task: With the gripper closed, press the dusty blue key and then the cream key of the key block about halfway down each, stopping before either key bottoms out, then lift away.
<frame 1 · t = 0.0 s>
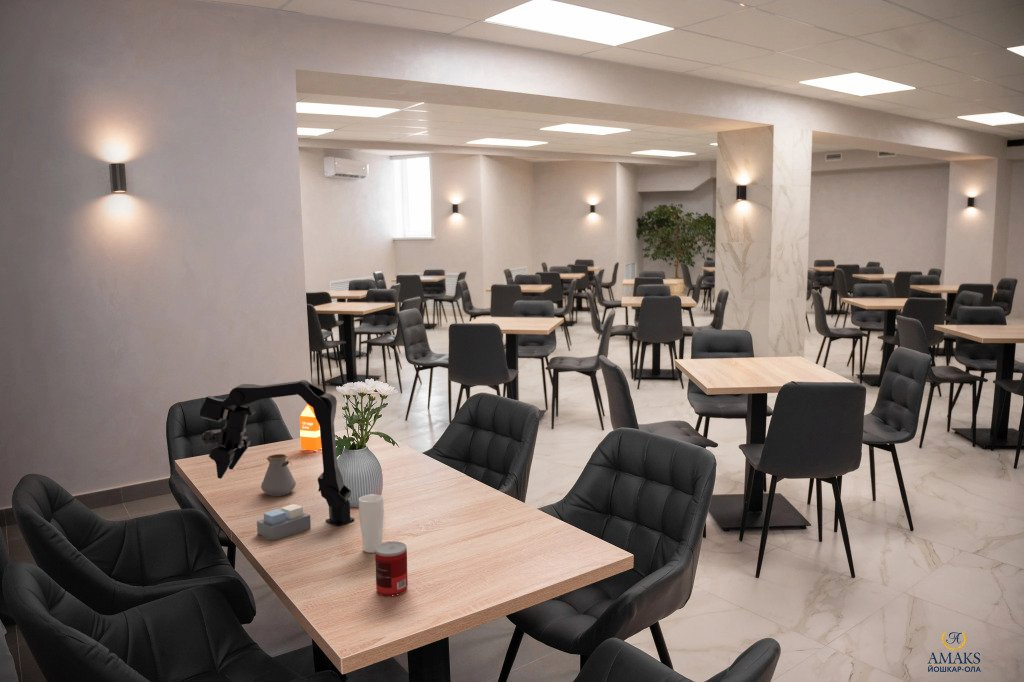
hand: (225, 473, 232), 15 cm above the table, tool pointing down, fingers open, 9 cm apart
key block: (284, 531, 226), on the table
drinking glass: (372, 550, 212), on the table
canned food: (392, 590, 187), on the table
cream key: (292, 513, 228), point 4 cm above the table, slide at 0.0 cm
blue key: (274, 519, 223), point 4 cm above the table, slide at 0.0 cm
coffee pot: (282, 497, 257), on the table
orange juice: (314, 448, 318), on the table
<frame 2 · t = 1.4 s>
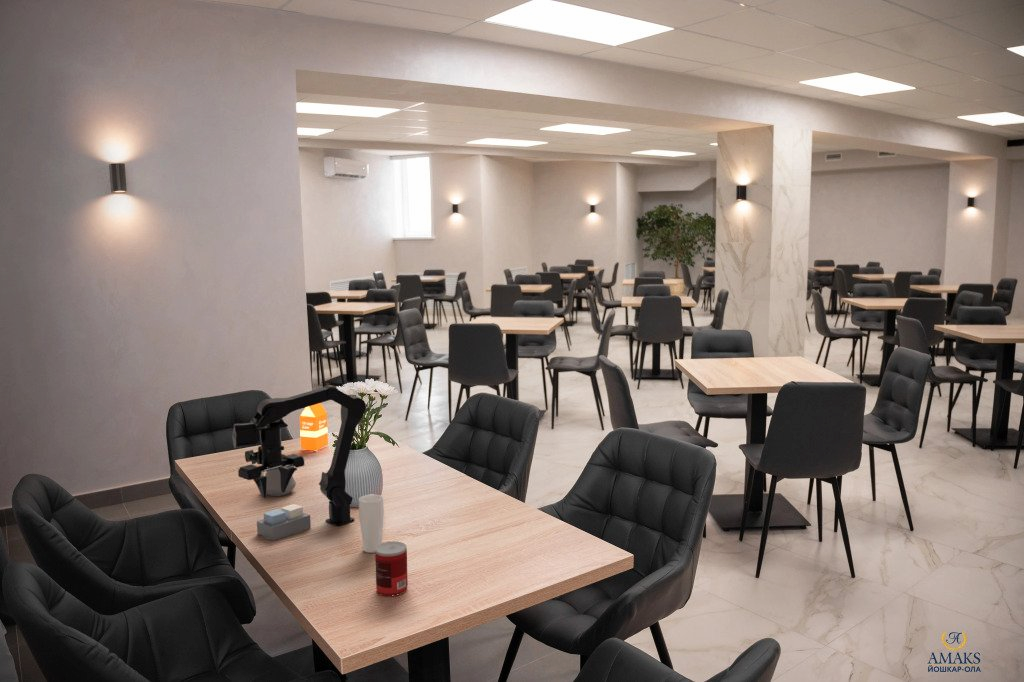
hand: (273, 494, 222), 12 cm above the table, tool pointing down, fingers open, 6 cm apart
nothing on the table moved.
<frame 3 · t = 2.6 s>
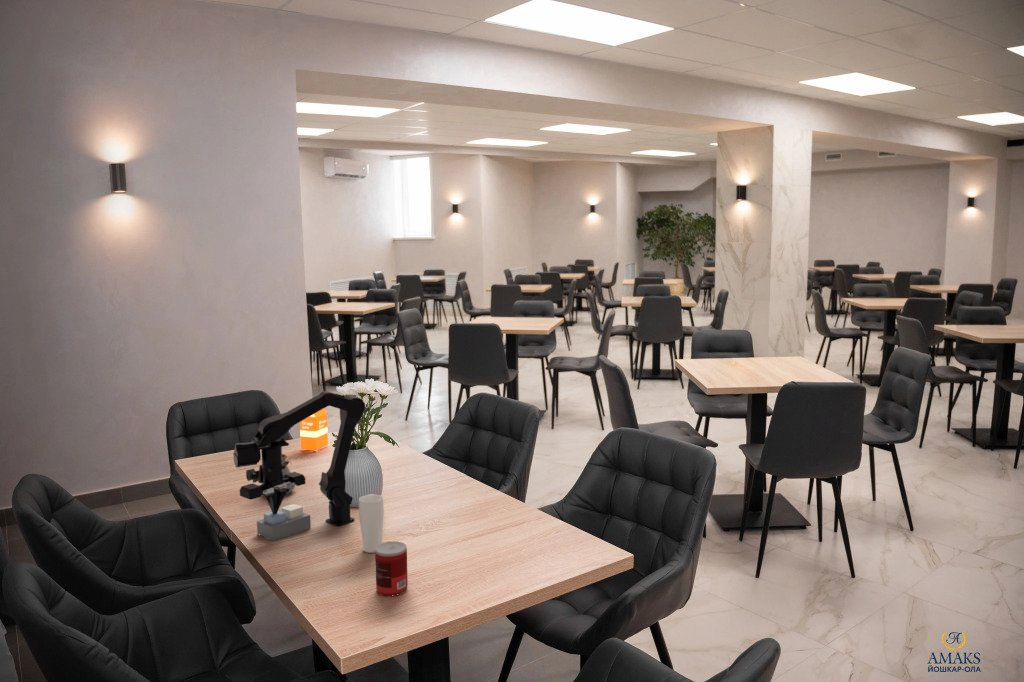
hand: (274, 513, 223), 6 cm above the table, tool pointing down, fingers closed, pressing on blue key
blue key: (274, 519, 223), point 4 cm above the table, slide at 0.1 cm, touching gripper
everything else where it was.
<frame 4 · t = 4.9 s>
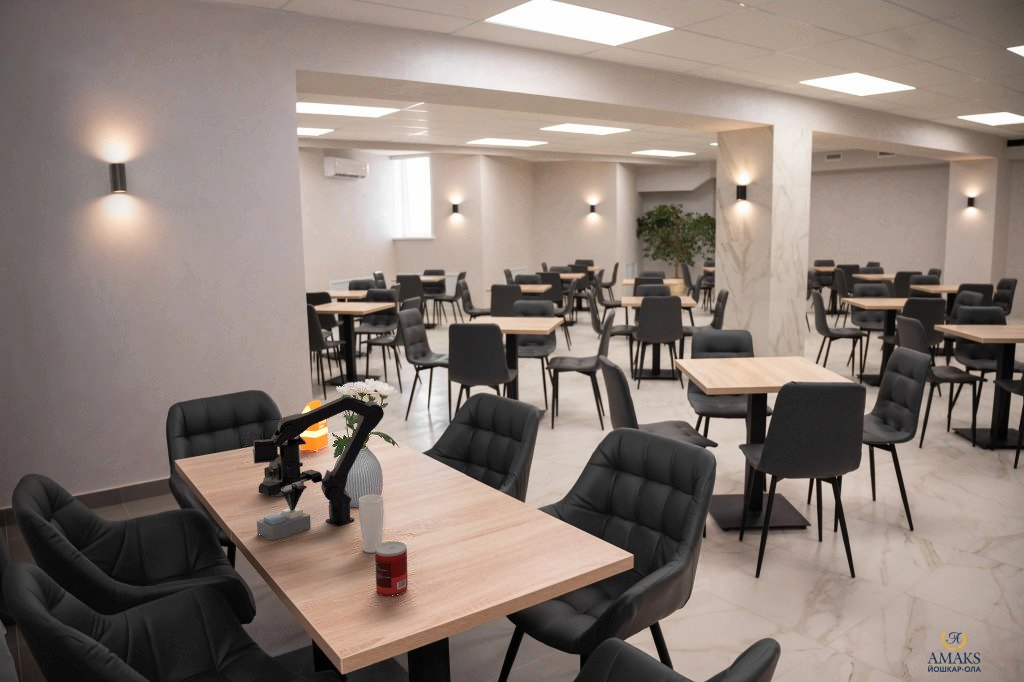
hand: (292, 509, 228), 6 cm above the table, tool pointing down, fingers closed, pressing on cream key
cream key: (292, 516, 228), point 4 cm above the table, slide at 0.8 cm, touching gripper
blue key: (275, 523, 224), point 3 cm above the table, slide at 1.2 cm
everything else where it was.
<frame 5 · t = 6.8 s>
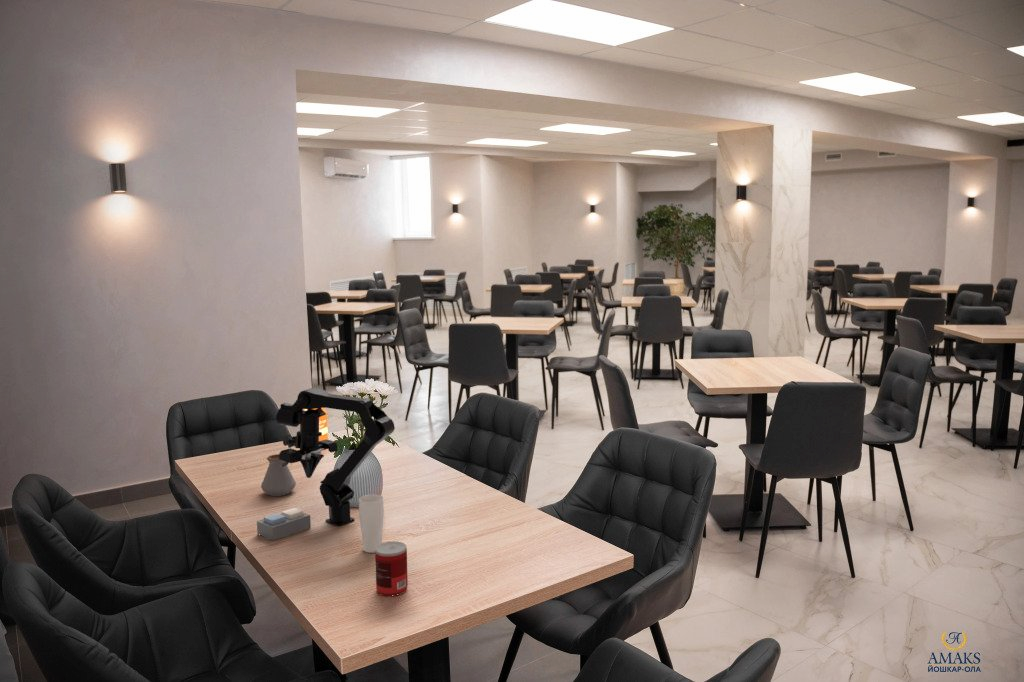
hand: (308, 477, 236), 13 cm above the table, tool pointing down, fingers closed
cream key: (292, 517, 228), point 3 cm above the table, slide at 1.3 cm
everything else where it was.
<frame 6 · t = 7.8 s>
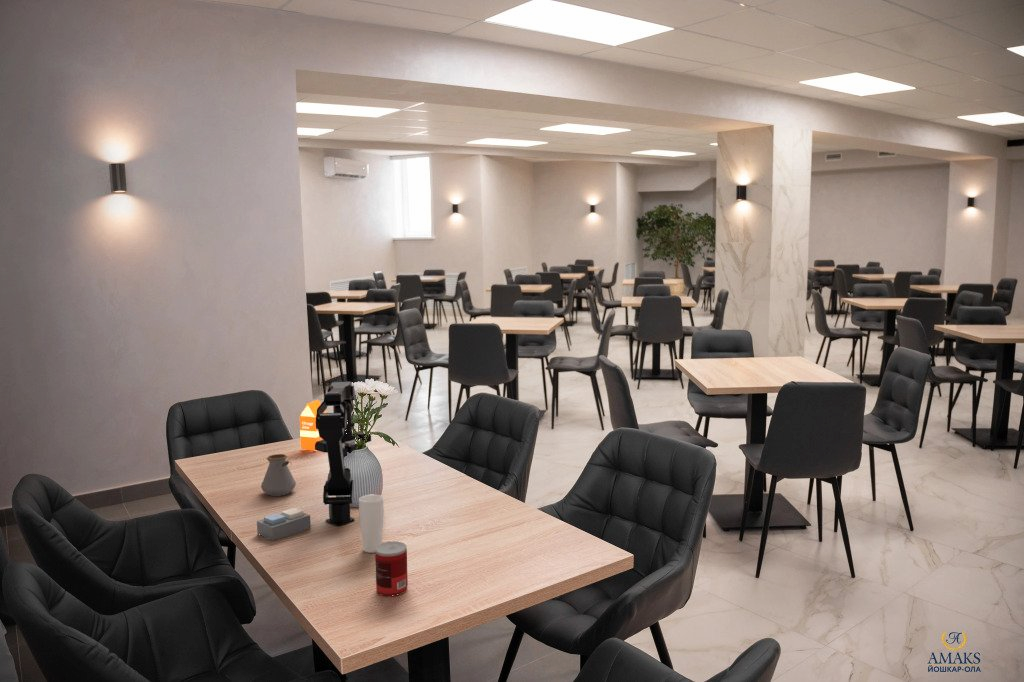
hand: (344, 467, 246), 13 cm above the table, tool pointing down, fingers closed
nothing on the table moved.
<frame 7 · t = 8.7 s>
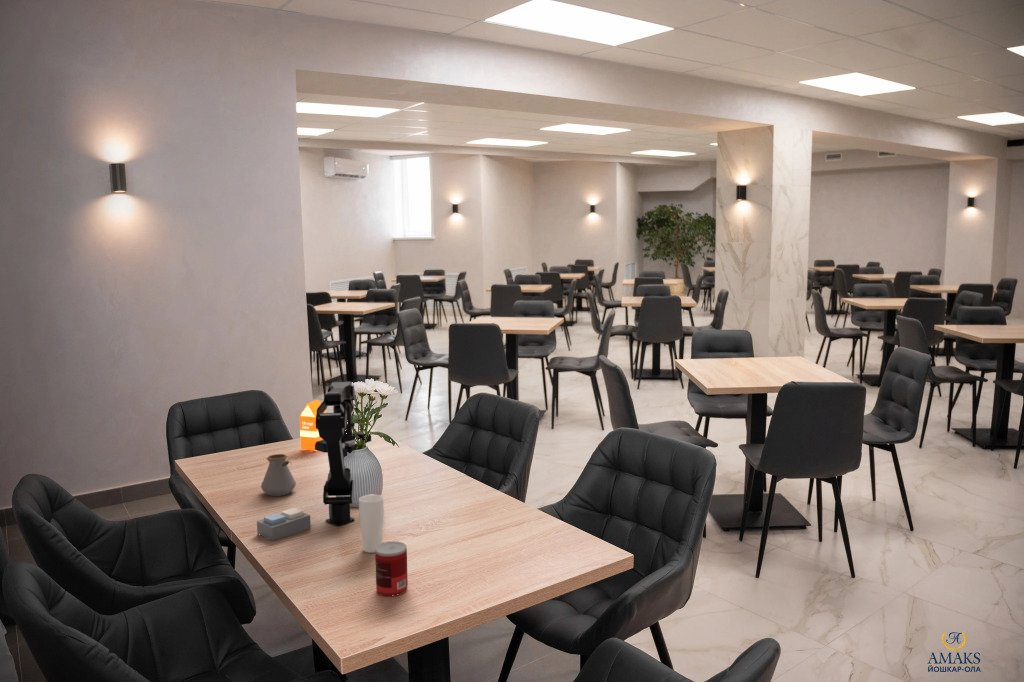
hand: (344, 467, 246), 13 cm above the table, tool pointing down, fingers closed
nothing on the table moved.
at the end: blue key slide at 1.2 cm; cream key slide at 1.3 cm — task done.
